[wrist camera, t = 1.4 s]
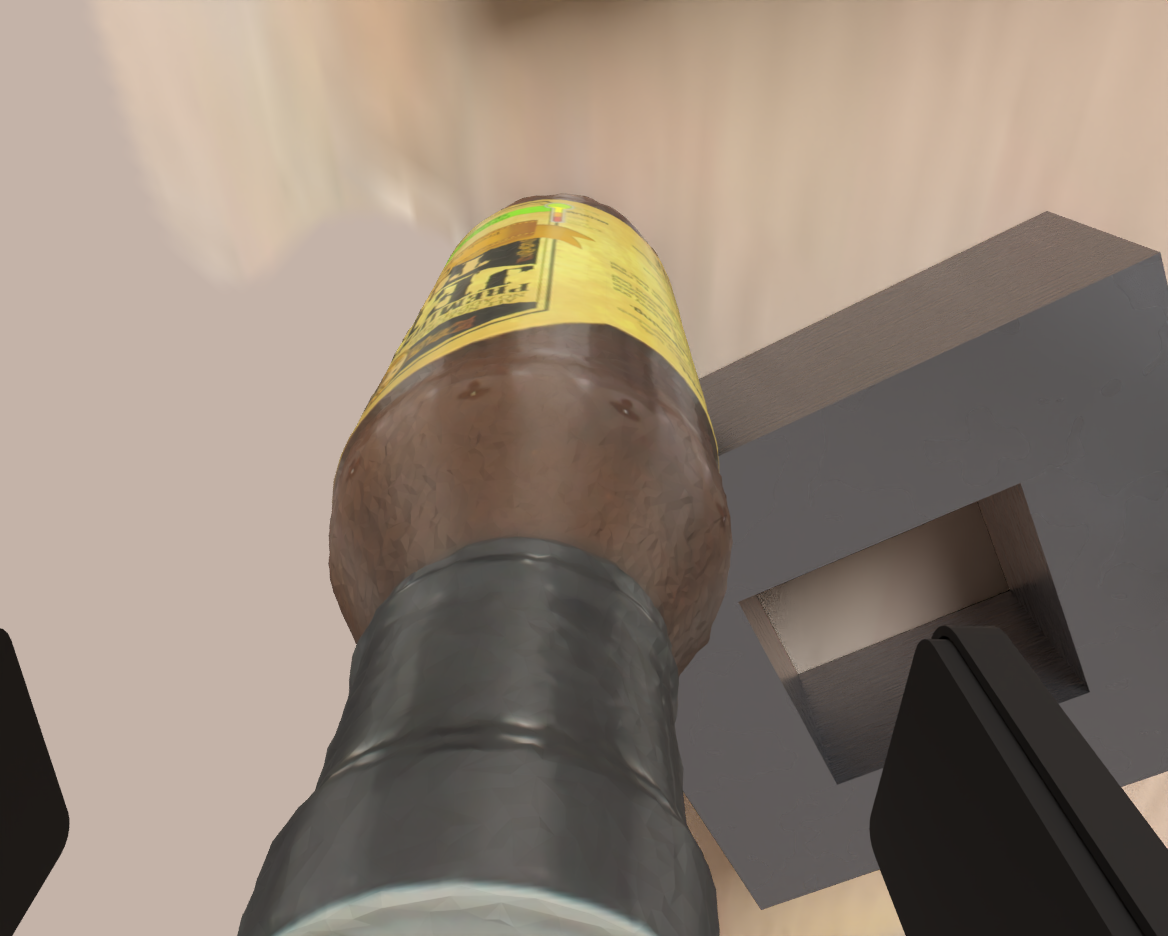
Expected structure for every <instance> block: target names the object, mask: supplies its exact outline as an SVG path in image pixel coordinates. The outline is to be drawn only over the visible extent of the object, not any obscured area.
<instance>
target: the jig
mask: <svg viewBox="0 0 1168 936" xmlns="http://www.w3.org/2000/svg"><path fill="white" fill-rule="evenodd" d="M699 382H700V385H701V389H702V392H703V396H704V399H705V403H706V407H707V410H708V414H709V417H710V420H711V424H712V427H713V431H714V435H715V438H716V442H717V447H718V458H719V474H720V475H721V476H722V486H723V489H724V492H725V494H726V496H727V506H728V509H729V513H730V517H731V532H732V540H733V544H732V548H731V556H730V568H729V571H728V577H727V590H726V593H725V596H724V598H723V601H722V603H721V606H720V608H719V611H718V613H717V616H716V618H715V620H714V622H713V624H712V627H711V633H710V639H709V642H708V644H707V645H705V646H704V647H703V648H702V649H701V650H700V651H698V652H697V653H696V655H695V656H694V658H693V659H692V660H691V662H690V663H689V664H688V666H687V667H686V668H685V669H684V671H683V672H682V673H681V674H680V676H679V688H678V710H677V718H676V721H675V730H676V737H677V743H678V748H679V753H680V756H681V760H682V764H683V768H684V771H683V792H684V793H685V795H686V796H687V798H688V799H689V801H690V802H691V804H692V805H693V807H694V808H695V810H696V811H697V813H698V814H699V816H700V817H701V819H702V820H703V822H704V824H705V825H706V827H707V828H708V830H709V831H710V833H711V834H712V836H713V837H714V839H715V840H716V842H717V843H718V845H719V846H720V848H721V849H722V851H723V852H724V854H725V855H726V857H727V859H728V860H729V862H730V863H731V865H732V866H733V868H734V869H735V871H736V872H737V874H738V875H739V877H740V878H741V880H742V881H743V883H744V884H745V886H746V887H747V889H748V890H749V892H750V893H751V895H752V897H753V898H754V900H755V901H756V903H757V904H758V906H759V907H760V909H761V910H762V909H765V908H768V907H771V906H774V905H777V904H780V903H783V902H786V901H789V900H792V899H795V898H797V897H800V896H803V895H806V894H809V893H812V892H815V891H818V890H821V889H824V888H827V887H830V886H833V885H836V884H838V883H841V882H844V881H847V880H850V879H853V878H856V877H859V876H862V875H865V874H868V873H871V872H874V871H876V870H879V869H880V868H879V866H878V863H877V861H876V858H875V855H874V852H873V849H872V845H871V840H870V830H869V825H870V816H871V812H872V808H873V804H874V800H875V797H876V793H877V789H878V786H879V782H880V778H881V775H882V771H883V767H884V764H885V760H886V756H887V753H888V749H889V745H890V741H891V738H892V734H893V730H894V727H895V723H896V719H897V716H898V712H899V708H900V705H901V701H902V697H903V694H904V690H905V686H906V683H907V679H908V675H909V671H910V668H911V664H912V660H913V657H914V653H915V650H916V647H917V645H918V643H919V642H920V641H921V640H923V639H931V638H932V635H933V633H934V632H935V630H936V629H937V628H938V627H940V626H943V625H958V626H995V627H998V628H1000V629H1001V630H1002V631H1003V632H1004V633H1005V634H1006V635H1007V636H1008V637H1009V639H1010V640H1011V641H1012V643H1013V644H1014V645H1015V647H1016V648H1017V649H1018V651H1019V652H1020V653H1021V655H1022V656H1023V657H1024V659H1025V660H1026V661H1027V663H1028V664H1029V665H1030V667H1031V668H1032V669H1033V671H1034V672H1035V673H1036V675H1037V676H1038V677H1039V679H1040V680H1041V681H1042V683H1043V684H1044V685H1045V687H1046V688H1047V689H1048V691H1049V692H1050V693H1051V695H1052V696H1053V697H1054V699H1055V700H1056V701H1057V703H1058V704H1059V705H1060V707H1061V708H1062V709H1063V711H1064V712H1065V713H1066V715H1067V716H1068V717H1069V719H1070V720H1071V721H1072V723H1073V724H1074V725H1075V727H1076V728H1077V729H1078V731H1079V732H1080V733H1081V735H1082V736H1083V737H1084V739H1085V740H1086V741H1087V742H1088V744H1089V745H1090V746H1091V748H1092V749H1093V750H1094V752H1095V753H1096V754H1097V756H1098V757H1099V758H1100V760H1101V761H1102V762H1103V764H1104V765H1105V766H1106V768H1107V769H1108V770H1109V772H1110V773H1111V774H1112V776H1113V777H1114V778H1115V780H1116V781H1117V782H1118V784H1119V785H1120V786H1121V787H1122V786H1125V785H1128V784H1131V783H1134V782H1137V781H1140V780H1143V779H1146V778H1149V777H1152V776H1155V775H1158V774H1160V773H1163V772H1166V771H1168V285H1167V281H1166V276H1165V271H1164V267H1163V262H1162V258H1161V253H1160V252H1158V251H1155V250H1152V249H1150V248H1147V247H1144V246H1141V245H1139V244H1136V243H1133V242H1130V241H1128V240H1125V239H1122V238H1119V237H1117V236H1114V235H1111V234H1108V233H1106V232H1103V231H1100V230H1097V229H1095V228H1092V227H1089V226H1087V225H1084V224H1081V223H1078V222H1076V221H1073V220H1070V219H1067V218H1065V217H1062V216H1059V215H1056V214H1054V213H1051V212H1048V211H1046V212H1044V213H1042V214H1040V215H1038V216H1036V217H1034V218H1032V219H1030V220H1028V221H1026V222H1023V223H1021V224H1019V225H1017V226H1015V227H1013V228H1011V229H1009V230H1007V231H1005V232H1003V233H1001V234H999V235H997V236H995V237H992V238H990V239H988V240H986V241H984V242H982V243H980V244H978V245H976V246H974V247H972V248H970V249H968V250H966V251H963V252H961V253H959V254H957V255H955V256H953V257H951V258H949V259H947V260H945V261H943V262H941V263H939V264H937V265H935V266H932V267H930V268H928V269H926V270H924V271H922V272H920V273H918V274H916V275H914V276H912V277H910V278H908V279H906V280H904V281H901V282H899V283H897V284H895V285H893V286H891V287H889V288H887V289H885V290H883V291H881V292H879V293H877V294H875V295H872V296H870V297H868V298H866V299H864V300H862V301H860V302H858V303H856V304H854V305H852V306H850V307H848V308H846V309H844V310H841V311H839V312H837V313H835V314H833V315H831V316H829V317H827V318H825V319H823V320H821V321H819V322H817V323H815V324H812V325H810V326H808V327H806V328H804V329H802V330H800V331H798V332H796V333H794V334H792V335H790V336H788V337H786V338H784V339H781V340H779V341H777V342H775V343H773V344H771V345H769V346H767V347H765V348H763V349H761V350H759V351H757V352H755V353H752V354H750V355H748V356H746V357H744V358H742V359H740V360H738V361H736V362H734V363H732V364H730V365H728V366H726V367H724V368H721V369H719V370H717V371H715V372H713V373H711V374H709V375H707V376H705V377H703V378H701V379H699ZM976 501H977V502H978V504H979V507H980V510H981V513H982V515H983V518H984V521H985V524H986V526H987V529H988V532H989V535H990V537H991V540H992V543H993V546H994V548H995V551H996V554H997V557H998V559H999V562H1000V565H1001V568H1002V570H1003V573H1004V576H1005V579H1006V582H1007V584H1008V587H1009V590H1010V591H1007V592H1005V593H1002V594H1000V595H997V596H995V597H992V598H990V599H987V600H985V601H982V602H980V603H977V604H975V605H972V606H970V607H967V608H965V609H962V610H960V611H957V612H955V613H952V614H949V615H947V616H944V617H942V618H939V619H937V620H934V621H932V622H929V623H927V624H924V625H922V626H919V627H917V628H914V629H912V630H909V631H907V632H904V633H902V634H899V635H897V636H894V637H892V638H889V639H887V640H884V641H882V642H879V643H876V644H874V645H871V646H869V647H866V648H864V649H861V650H859V651H856V652H854V653H851V654H849V655H846V656H844V657H841V658H839V659H836V660H834V661H831V662H829V663H826V664H824V665H821V666H819V667H816V668H814V669H811V670H809V671H806V672H804V673H801V674H798V673H797V671H796V669H795V668H794V666H793V664H792V662H791V660H790V658H789V656H788V654H787V652H786V651H785V649H784V647H783V645H782V643H781V641H780V639H779V637H778V635H777V633H776V632H775V630H774V628H773V626H772V624H771V622H770V620H769V618H768V616H767V614H766V613H765V611H764V609H763V607H762V605H761V603H760V601H759V599H758V597H757V596H756V594H758V593H761V592H763V591H765V590H768V589H770V588H773V587H775V586H777V585H780V584H782V583H784V582H787V581H789V580H791V579H794V578H796V577H799V576H801V575H803V574H806V573H808V572H810V571H813V570H815V569H818V568H820V567H822V566H825V565H827V564H829V563H832V562H834V561H837V560H839V559H841V558H844V557H846V556H848V555H851V554H853V553H855V552H858V551H860V550H863V549H865V548H867V547H870V546H872V545H874V544H877V543H879V542H882V541H884V540H886V539H889V538H891V537H893V536H896V535H898V534H901V533H903V532H905V531H908V530H910V529H912V528H915V527H917V526H919V525H922V524H924V523H927V522H929V521H931V520H934V519H936V518H938V517H941V516H943V515H946V514H948V513H950V512H953V511H955V510H957V509H960V508H962V507H965V506H967V505H969V504H972V503H974V502H976Z"/></svg>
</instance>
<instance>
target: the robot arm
mask: <svg viewBox="0 0 1168 936" xmlns="http://www.w3.org/2000/svg"><path fill="white" fill-rule="evenodd" d="M869 830H870V840H871V845H872V849H873V852H874V855H875V858H876V861H877V863H878V866H879V868H880V871H881V873H882V876H883V878H884V881H885V884H886V886H887V889H888V891H889V894H890V896H891V899H892V902H893V904H894V907H895V909H896V912H897V914H898V917H899V920H900V922H901V925H902V927H903V930H904V932H905V935H906V936H1168V849H1167V848H1166V846H1165V845H1164V844H1163V842H1162V841H1161V840H1160V838H1159V837H1158V836H1157V834H1156V833H1155V832H1154V830H1153V829H1152V828H1151V826H1150V825H1149V824H1148V822H1147V821H1146V820H1145V818H1144V817H1143V816H1142V814H1141V813H1140V812H1139V810H1138V809H1137V808H1136V806H1135V805H1134V804H1133V802H1132V801H1131V800H1130V798H1129V797H1128V796H1127V794H1126V793H1125V792H1124V790H1123V789H1122V788H1121V786H1120V785H1119V784H1118V782H1117V781H1116V780H1115V778H1114V777H1113V776H1112V774H1111V773H1110V772H1109V770H1108V769H1107V768H1106V766H1105V765H1104V764H1103V762H1102V761H1101V760H1100V758H1099V757H1098V756H1097V754H1096V753H1095V752H1094V750H1093V749H1092V748H1091V746H1090V745H1089V744H1088V742H1087V741H1086V740H1085V739H1084V737H1083V736H1082V735H1081V733H1080V732H1079V731H1078V729H1077V728H1076V727H1075V725H1074V724H1073V723H1072V721H1071V720H1070V719H1069V717H1068V716H1067V715H1066V713H1065V712H1064V711H1063V709H1062V708H1061V707H1060V705H1059V704H1058V703H1057V701H1056V700H1055V699H1054V697H1053V696H1052V695H1051V693H1050V692H1049V691H1048V689H1047V688H1046V687H1045V685H1044V684H1043V683H1042V681H1041V680H1040V679H1039V677H1038V676H1037V675H1036V673H1035V672H1034V671H1033V669H1032V668H1031V667H1030V665H1029V664H1028V663H1027V661H1026V660H1025V659H1024V657H1023V656H1022V655H1021V653H1020V652H1019V651H1018V649H1017V648H1016V647H1015V645H1014V644H1013V643H1012V641H1011V640H1010V639H1009V637H1008V636H1007V635H1006V634H1005V633H1004V632H1003V631H1002V630H1001V629H1000V628H998V627H995V626H958V625H943V626H940V627H938V628H937V629H936V630H935V632H934V633H933V635H932V638H931V639H923V640H921V641H920V642H919V643H918V645H917V647H916V650H915V653H914V657H913V660H912V664H911V668H910V671H909V675H908V679H907V683H906V686H905V690H904V694H903V697H902V701H901V705H900V708H899V712H898V716H897V719H896V723H895V727H894V730H893V734H892V738H891V741H890V745H889V749H888V753H887V756H886V760H885V764H884V767H883V771H882V775H881V778H880V782H879V786H878V789H877V793H876V797H875V800H874V804H873V808H872V812H871V816H870V825H869ZM68 831H69V815H68V811H67V808H66V805H65V802H64V799H63V795H62V793H61V789H60V787H59V784H58V780H57V777H56V774H55V771H54V768H53V765H52V762H51V760H50V756H49V753H48V750H47V747H46V744H45V741H44V738H43V735H42V732H41V729H40V726H39V723H38V720H37V717H36V714H35V711H34V708H33V705H32V702H31V699H30V696H29V693H28V690H27V687H26V684H25V681H24V678H23V675H22V671H21V668H20V665H19V662H18V659H17V656H16V653H15V650H14V647H13V645H12V641H11V639H10V637H9V635H8V633H7V632H6V631H4V630H3V629H0V936H12V935H13V933H14V932H15V930H16V928H17V927H18V925H19V923H20V922H21V920H22V918H23V917H24V915H25V913H26V911H27V910H28V908H29V907H30V905H31V903H32V902H33V900H34V898H35V897H36V895H37V893H38V892H39V890H40V888H41V887H42V885H43V883H44V882H45V880H46V878H47V877H48V875H49V873H50V872H51V870H52V868H53V867H54V865H55V863H56V862H57V860H58V858H59V857H60V855H61V853H62V851H63V849H64V847H65V844H66V841H67V837H68Z"/></svg>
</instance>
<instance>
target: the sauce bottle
mask: <svg viewBox="0 0 1168 936" xmlns="http://www.w3.org/2000/svg"><path fill="white" fill-rule="evenodd" d="M333 485H334V486H333V498H332V514H331V519H330V532H329V549H330V556H329V568H330V581H331V584H332V588H333V592H334V594H335V597H336V599H337V601H338V604H339V607H340V610H341V612H342V614H343V617H344V619H345V621H346V623H347V625H348V627H349V629H350V631H351V633H352V635H353V638H354V640H355V643H356V644H357V645H356V648H355V651H354V653H353V656H352V663H351V670H350V679H349V696H348V700H347V702H346V705H345V708H344V711H343V715H342V718H341V721H340V723H339V726H338V729H337V731H336V734H335V736H334V738H333V740H332V741H331V743H330V745H329V747H328V749H327V754H326V758H325V763H324V767H323V769H322V772H321V775H320V777H319V780H318V783H317V786H316V789H315V791H314V793H313V794H312V795H311V796H310V797H309V798H308V799H307V800H306V801H305V802H304V803H303V804H302V805H301V806H300V807H299V808H298V809H297V810H296V811H295V813H294V814H293V816H292V817H291V818H290V820H289V821H288V823H287V824H286V825H285V826H284V827H283V829H282V830H281V831H280V833H279V834H278V835H277V836H276V838H275V839H274V840H273V842H272V844H271V846H270V849H269V851H268V854H267V856H266V859H265V862H264V864H263V866H262V869H261V871H260V874H259V876H258V878H257V881H256V885H255V889H254V892H253V894H252V896H251V899H250V901H249V903H248V905H247V908H246V910H245V912H244V914H243V916H242V918H241V922H240V927H239V931H238V935H237V936H719V921H718V912H717V897H716V888H715V885H714V883H713V879H712V876H711V873H710V869H709V866H708V864H707V862H706V861H705V859H704V856H703V853H702V851H701V849H700V848H699V846H698V844H697V843H696V841H695V839H694V838H693V836H692V834H691V832H690V830H689V828H688V826H687V824H686V816H685V806H684V797H683V771H684V768H683V764H682V760H681V756H680V753H679V748H678V743H677V737H676V730H675V721H676V718H677V710H678V688H679V676H680V674H681V673H682V672H683V671H684V669H685V668H686V667H687V666H688V664H689V663H690V662H691V660H692V659H693V658H694V656H695V655H696V653H697V652H698V651H700V650H701V649H702V648H703V647H704V646H705V645H707V644H708V642H709V639H710V633H711V627H712V624H713V622H714V620H715V618H716V616H717V613H718V611H719V608H720V606H721V603H722V601H723V598H724V596H725V593H726V590H727V577H728V571H729V568H730V556H731V548H732V544H733V540H732V532H731V517H730V513H729V509H728V506H727V496H726V494H725V492H724V489H723V486H722V476H721V475H720V474H719V458H718V447H717V442H716V438H715V435H714V431H713V427H712V424H711V420H710V417H709V414H708V410H707V407H706V403H705V399H704V396H703V392H702V389H701V385H700V382H699V379H698V376H697V373H696V370H695V366H694V363H693V360H692V357H691V353H690V349H689V346H688V342H687V339H686V336H685V333H684V330H683V326H682V322H681V318H680V314H679V310H678V307H677V304H676V300H675V297H674V294H673V290H672V286H671V284H670V281H669V278H668V276H667V274H666V272H665V270H664V267H663V265H662V263H661V261H660V260H659V258H658V255H657V254H656V252H655V251H654V249H653V248H651V247H650V246H649V244H648V243H647V242H646V241H645V240H644V238H643V237H642V235H641V234H640V233H639V232H638V230H637V229H636V228H635V227H634V226H633V225H632V224H631V223H630V222H629V221H628V220H627V219H626V218H625V217H624V216H623V215H621V214H620V213H619V212H618V211H616V210H615V209H613V208H611V207H609V206H606V205H603V204H600V203H598V202H597V201H595V200H593V199H591V198H589V197H586V196H578V195H571V194H557V195H550V196H532V197H526V198H522V199H520V200H518V201H515V202H514V203H513V204H511V205H509V206H508V207H506V208H504V209H502V210H500V211H499V212H497V213H495V214H493V215H492V216H490V217H488V218H487V219H485V220H484V221H482V222H481V223H480V224H478V225H477V226H475V227H474V228H473V229H472V230H471V231H470V232H469V233H468V234H467V235H466V236H465V237H464V238H463V239H462V241H461V242H460V243H459V244H458V245H457V247H456V248H455V250H454V251H453V253H452V255H451V256H450V258H449V260H448V262H447V264H446V265H445V267H444V269H443V271H442V273H441V275H440V276H439V278H438V280H437V282H436V284H435V286H434V288H433V290H432V291H431V293H430V295H429V297H428V299H427V300H426V302H425V303H424V305H423V307H422V309H421V310H420V312H419V315H418V316H417V319H416V320H415V322H414V324H413V326H412V327H411V328H410V329H409V330H408V332H407V334H406V336H405V337H404V339H403V341H402V343H401V345H400V346H399V348H398V350H397V351H396V353H395V355H394V357H393V359H392V362H391V364H390V366H389V368H388V370H387V372H386V374H385V376H384V377H383V379H382V381H381V383H380V384H379V386H378V388H377V390H376V391H375V393H374V394H373V395H372V397H371V399H370V401H369V403H368V405H367V406H366V408H365V410H364V412H363V414H362V416H361V418H360V420H359V423H358V424H357V426H356V428H355V429H354V431H353V433H352V434H351V436H350V437H349V439H348V442H347V444H346V446H345V448H344V450H343V452H342V454H341V457H340V460H339V464H338V468H337V471H336V475H335V478H334V484H333Z"/></svg>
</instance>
